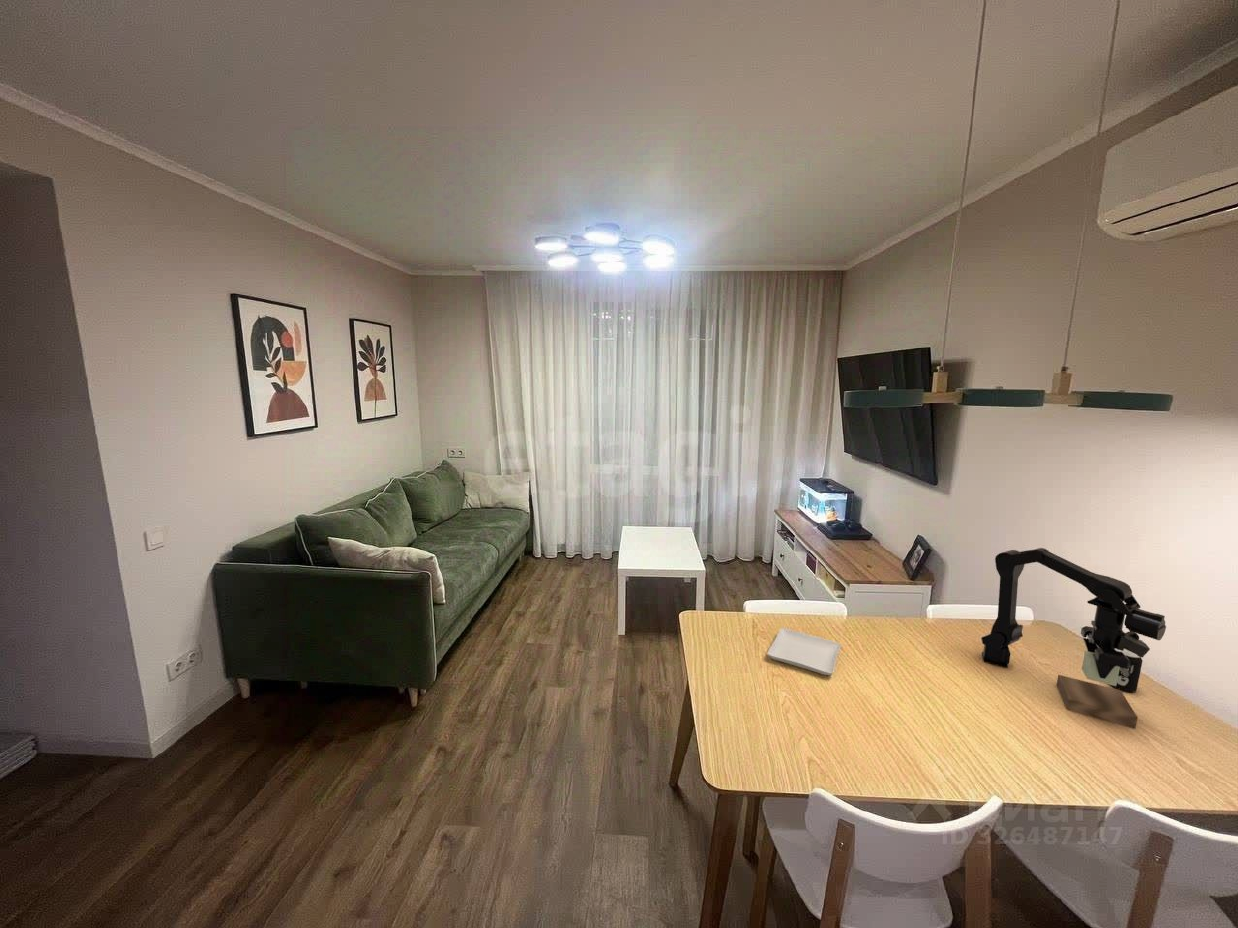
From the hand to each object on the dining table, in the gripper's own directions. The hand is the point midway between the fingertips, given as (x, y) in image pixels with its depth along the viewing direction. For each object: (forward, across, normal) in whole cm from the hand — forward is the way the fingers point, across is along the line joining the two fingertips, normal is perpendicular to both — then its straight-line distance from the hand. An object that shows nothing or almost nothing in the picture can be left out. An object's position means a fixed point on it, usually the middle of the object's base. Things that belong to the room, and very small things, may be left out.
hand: (1098, 672), depth 138 cm
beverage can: (+11, +17, -10) cm, 23 cm away
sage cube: (+2, 0, 0) cm, 2 cm away
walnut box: (+11, 0, 0) cm, 11 cm away
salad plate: (+11, -20, +78) cm, 81 cm away
